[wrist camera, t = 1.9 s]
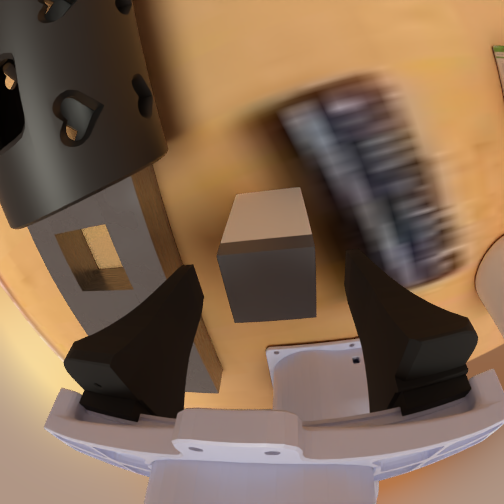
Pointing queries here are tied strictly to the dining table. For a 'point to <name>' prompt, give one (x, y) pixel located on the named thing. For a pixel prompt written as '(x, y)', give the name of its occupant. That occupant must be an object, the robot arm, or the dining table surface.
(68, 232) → the block
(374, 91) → the dining table surface
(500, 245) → the pill bottle
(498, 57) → the syrup box
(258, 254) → the plug
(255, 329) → the dining table surface
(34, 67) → the muzzle brake
